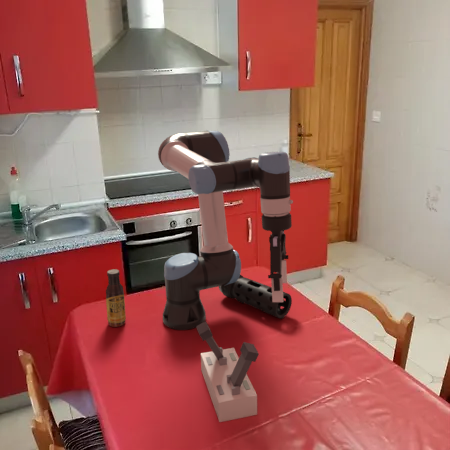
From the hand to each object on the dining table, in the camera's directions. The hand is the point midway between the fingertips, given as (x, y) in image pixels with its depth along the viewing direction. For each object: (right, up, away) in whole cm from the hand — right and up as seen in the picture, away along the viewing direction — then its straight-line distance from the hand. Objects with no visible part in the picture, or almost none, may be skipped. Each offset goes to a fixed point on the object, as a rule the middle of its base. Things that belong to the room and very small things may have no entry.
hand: (280, 291), depth 126 cm
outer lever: (-12, -24, -3) cm, 27 cm away
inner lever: (-16, -20, +9) cm, 27 cm away
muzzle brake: (-4, -13, +50) cm, 52 cm away
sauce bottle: (-52, -17, +41) cm, 69 cm away
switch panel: (-14, -28, +5) cm, 32 cm away
